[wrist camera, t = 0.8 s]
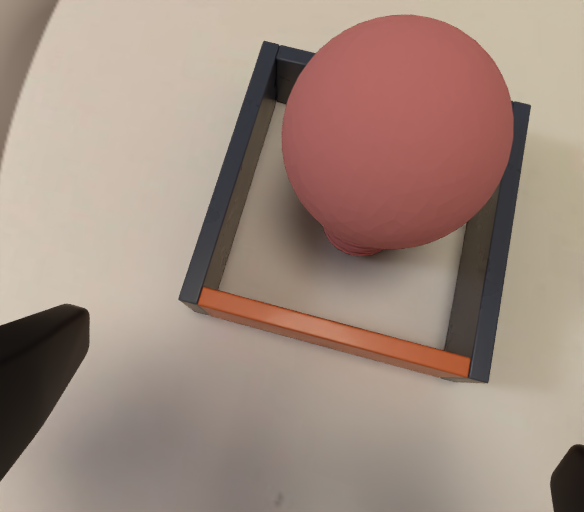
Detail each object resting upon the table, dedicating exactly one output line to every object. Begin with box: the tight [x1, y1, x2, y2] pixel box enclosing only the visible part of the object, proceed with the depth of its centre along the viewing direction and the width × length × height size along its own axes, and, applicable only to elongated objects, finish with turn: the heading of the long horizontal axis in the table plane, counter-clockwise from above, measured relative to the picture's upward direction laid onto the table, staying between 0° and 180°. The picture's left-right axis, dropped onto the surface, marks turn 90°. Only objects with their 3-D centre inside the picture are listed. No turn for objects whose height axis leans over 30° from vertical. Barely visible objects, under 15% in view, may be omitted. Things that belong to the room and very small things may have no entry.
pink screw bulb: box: [282, 15, 514, 256], centre depth 17 cm, size 7×7×12 cm
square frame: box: [179, 41, 531, 383], centre depth 22 cm, size 13×13×4 cm
